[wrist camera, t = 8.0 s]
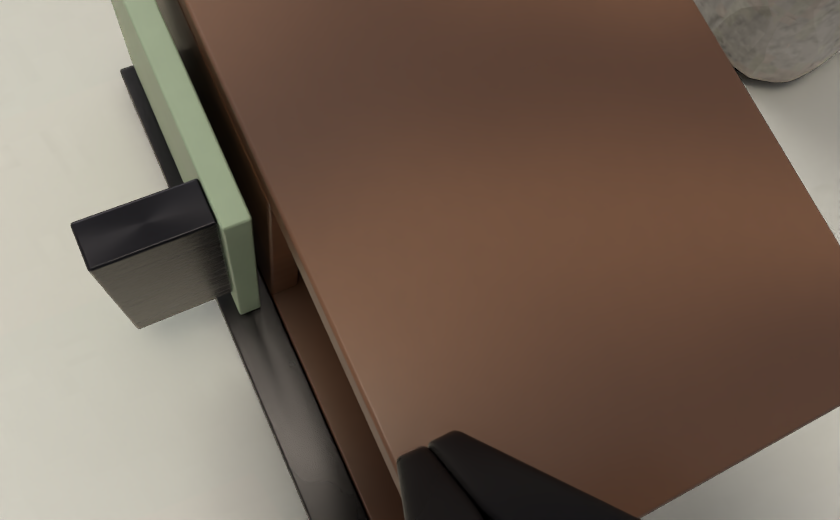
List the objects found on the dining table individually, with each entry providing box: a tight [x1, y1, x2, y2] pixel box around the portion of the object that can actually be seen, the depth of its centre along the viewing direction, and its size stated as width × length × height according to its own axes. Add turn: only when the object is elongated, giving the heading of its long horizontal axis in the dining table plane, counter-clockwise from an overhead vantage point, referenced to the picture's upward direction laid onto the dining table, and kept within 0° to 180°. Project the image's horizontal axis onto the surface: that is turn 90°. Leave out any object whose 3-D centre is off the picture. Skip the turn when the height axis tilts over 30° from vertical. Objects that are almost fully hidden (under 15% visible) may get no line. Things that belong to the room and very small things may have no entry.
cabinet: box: [120, 0, 840, 520], centre depth 20 cm, size 16×11×9 cm
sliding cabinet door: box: [71, 0, 261, 329], centre depth 18 cm, size 8×3×7 cm, turn 26°
